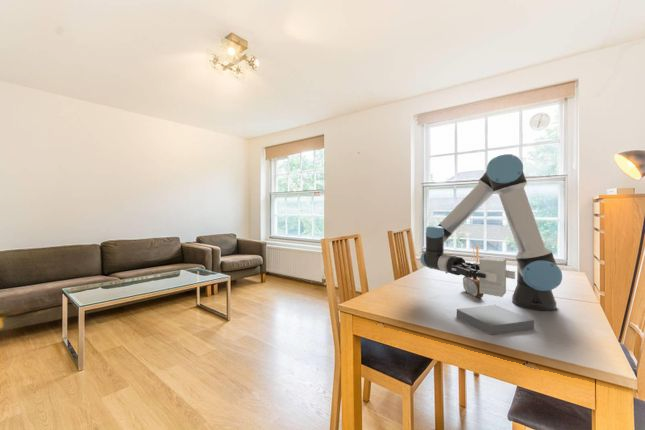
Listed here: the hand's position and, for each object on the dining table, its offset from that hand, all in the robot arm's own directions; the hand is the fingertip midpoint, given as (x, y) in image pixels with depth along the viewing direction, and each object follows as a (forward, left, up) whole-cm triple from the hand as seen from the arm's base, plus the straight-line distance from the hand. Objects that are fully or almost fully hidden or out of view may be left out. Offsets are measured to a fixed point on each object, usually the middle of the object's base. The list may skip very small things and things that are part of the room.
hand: (505, 276), depth 97 cm
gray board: (+1, -4, -18) cm, 18 cm away
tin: (-16, -33, -18) cm, 41 cm away
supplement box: (+1, -4, -7) cm, 8 cm away
